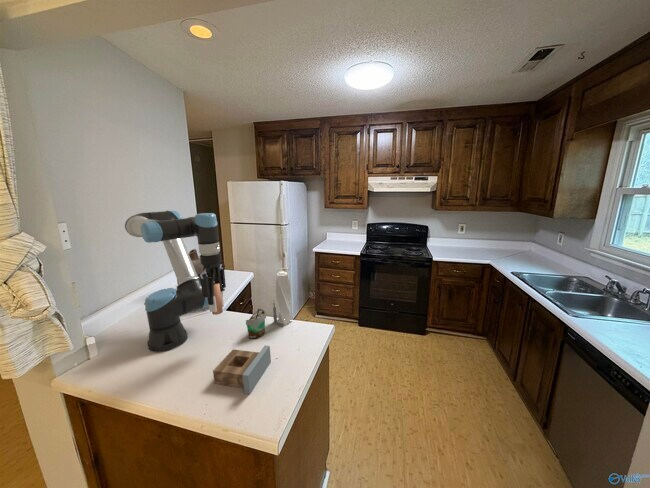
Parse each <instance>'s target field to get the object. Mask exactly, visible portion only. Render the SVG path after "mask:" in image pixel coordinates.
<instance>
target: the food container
mask: <svg viewBox="0 0 650 488" xmlns="http://www.w3.org/2000/svg"><path fill="white" fill-rule="evenodd" d="M266 319H267V314H266V312H265V310H264V309H261V308H259V307H258V308H257V310H256V312H254V313H253V314H252V315H251V316H250V317H249V319H246V320H245V326H246V329H247V335H248V339H249V340H257V339H260V338H262V337H264V335H265V333H266Z"/></svg>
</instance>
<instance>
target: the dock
mask: <svg viewBox="0 0 650 488" xmlns="http://www.w3.org/2000/svg"><path fill="white" fill-rule="evenodd" d="M258 352H259V354H258V355H257V356H256V358H255V359H254V360H253V362H252V363H251V364H250V366H249V367H248V368H247V370H246V371H245V372H244V373H243V375H242V376H243V385H244V388H243V391H244V392H243V393H244V395H245V394H246V395H251V394H252V392H253V391H254V390H255V387H256V386H257V385H258V383H259V381H260V380H261V378H262V377H263V375H264V374H265V372H266V371H267V369H268V367H270V364H271V363H272V357H271V356H272V355H271V346H270V345H263V347H262V348H261V350H259V351H258Z"/></svg>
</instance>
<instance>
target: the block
mask: <svg viewBox="0 0 650 488" xmlns="http://www.w3.org/2000/svg"><path fill="white" fill-rule="evenodd" d="M259 352H260V351H258V352H257V351H250V350H241V349H240V350H239V349H233V348H232V349H231V351H230V352H229V353H228V354H227V355H226V356H225V357H224V358H223V360H221V361H220V362H219V364H218V365H217V366H215V368H213V370H212V374H213V381H214V382H213V383H214V385H221V386H222V385H223V386H227V387H233V388H239V389H241V388H242V389H244V385H243V376H242V375H243V373H244V372H245V371H246V370H247V368H248V367H249V366H250V364H251V363H252V362H253V360H254V359H255V358H256V356H257V355H258V354H259Z"/></svg>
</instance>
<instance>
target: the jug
mask: <svg viewBox="0 0 650 488" xmlns="http://www.w3.org/2000/svg"><path fill="white" fill-rule="evenodd" d="M188 253H189V256H190V258H191V261H192V263H193V266H194V268H195V271H196V273H197V276H198V274H201V273H202V272H203V265H202V264H201V261H200V256H199V255H198V254H199V253H198V251H197V248H193V249H190V250H189V252H188ZM198 277H199V276H198ZM211 278H212V277H211ZM176 282H177V285H178V284H179V283H178V280H177V279H176Z"/></svg>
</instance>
